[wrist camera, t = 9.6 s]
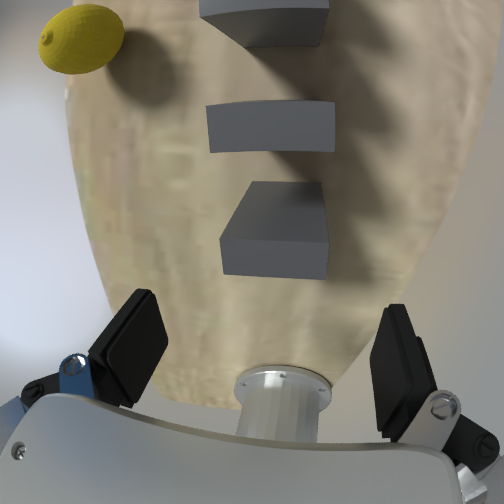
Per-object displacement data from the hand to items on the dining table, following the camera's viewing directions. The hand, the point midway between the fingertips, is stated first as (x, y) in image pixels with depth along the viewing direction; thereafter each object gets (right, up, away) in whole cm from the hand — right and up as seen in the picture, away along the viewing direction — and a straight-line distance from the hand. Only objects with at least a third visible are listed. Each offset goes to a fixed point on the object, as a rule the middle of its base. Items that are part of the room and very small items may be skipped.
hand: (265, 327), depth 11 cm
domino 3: (+2, +7, +10) cm, 12 cm away
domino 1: (+1, +18, +4) cm, 18 cm away
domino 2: (+2, +12, +7) cm, 14 cm away
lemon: (-11, +20, +5) cm, 24 cm away
